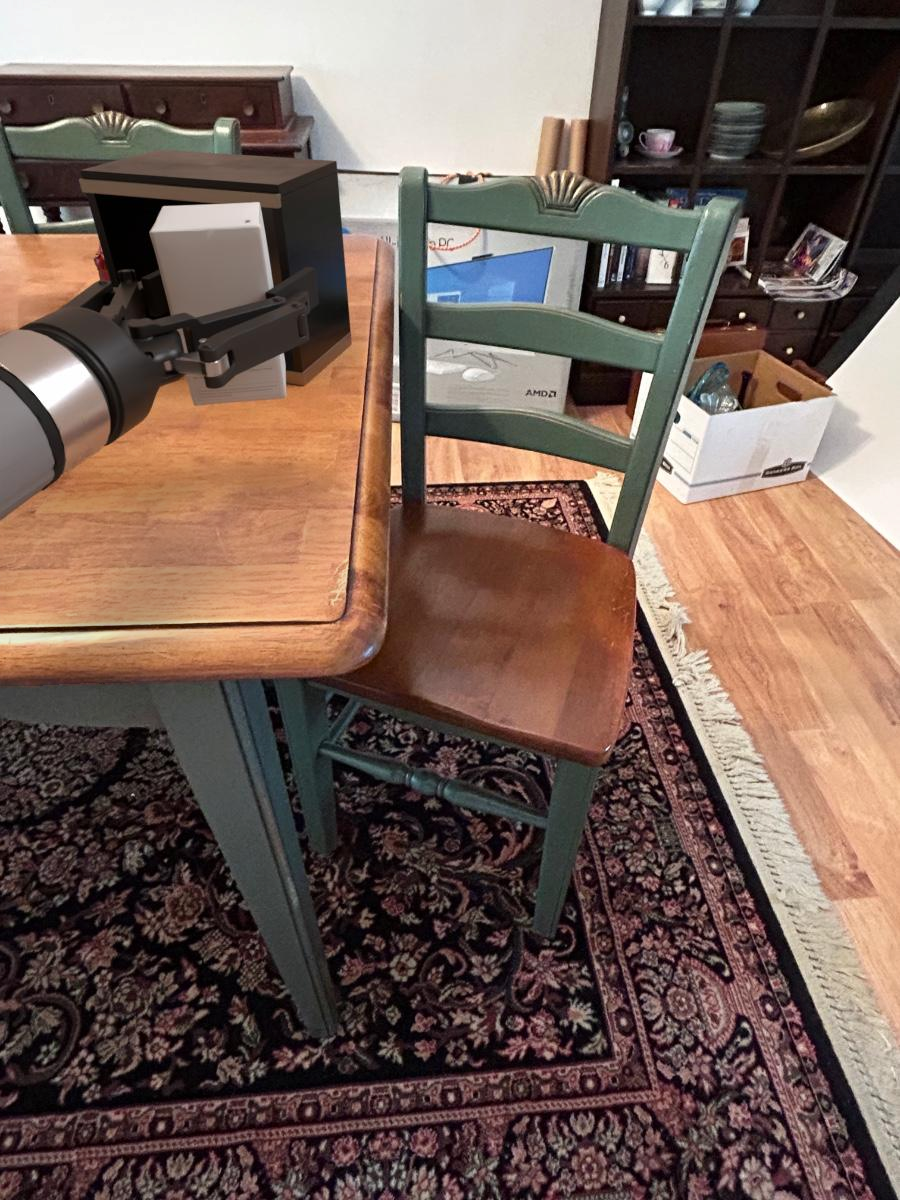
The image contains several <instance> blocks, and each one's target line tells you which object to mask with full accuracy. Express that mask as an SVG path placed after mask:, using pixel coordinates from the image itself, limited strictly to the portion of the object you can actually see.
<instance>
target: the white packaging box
mask: <svg viewBox="0 0 900 1200" xmlns="http://www.w3.org/2000/svg"><path fill="white" fill-rule="evenodd" d="M149 233H150V237H151V240H152V243H153V247H154V250H155V254H156V257H157V261H158V265H159V269H160V273H161V277H162V281H163V285H164V289H165V293H166V297H167V301H168V305H169V309H170V314H171V316H172V315H176V314H180V313H188V314H190V315H192V316H194V317H200V316H204V315H208V314H212V313H215V312H219V311H223V310H227V309H231V308H235V307H239V306H242V305H246V304H250V303H254V302H258V301H262V300H265V299H266V296H265V292H267V291H269V290H270V289H272V288H273V280H272V273H271V267H270V260H269V253H268V247H267V241H266V235H265V229H264V223H263V217H262V211H261V206H260V203H259V202H251V203H231V204H208V205H184V206H163V207H162V209H161V211H160V213H159V215H158V217H157V220H156V222H155V224H154V225H153V227H152V229H151V231H150V232H149ZM177 331H178V332H179V333H180V335H181V340H182V344H183V348H184V353H188V351H187V347H186V342H185V338H184V334H183V329H178V330H177ZM185 377H186V381H187V384H188V388H189V392H190V397H191V400H192V403H193V406H194V407H197V406H200V407H201V406H208V405H209V406H210V405H219V404H233V403H245V402H257V401H258V402H259V401H270V400H283V399H287V383H286V366H285V358H284V353H282V354H280V355H278V356H276V357H274V358H272V359H270V360H267V361H265V362H263V363H261V364H259V365H257V366H255V367H253V368H250V369H248V370H246V371H244V372H242V373H240V374H238V375H236V376H235V377H234V378H232V379H231V380H230V381H229V382H228V383H227V384H226V385H225V386H223V387H221V388H217V389H210V388H207V387H206V385H205V380H204V376H203V375H193V374H185Z"/></svg>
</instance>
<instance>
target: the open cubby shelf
mask: <svg viewBox="0 0 900 1200" xmlns="http://www.w3.org/2000/svg"><path fill="white" fill-rule="evenodd" d="M79 173H80V177H81V178H79V179H78V182H79V186H80V189H81V192H82V193H84V194H86V198H87V201H88V205H89V206H88V207H89V209H90V212H91V217H92V219H93V223H94V227H95V231H96V233H97V239H98V241H99V243H100V245H101V248H102V252H103V256H104V259H105V263H106V266H107V270H108V273H109V277H110V281H111V283H112V286H113V287H119V285H120V280H119V276H118V271H120V270H126V269H132V270H135V274H136V278H137V282H140V281H141V278H142V277H144V276H147V275H149V274H151V273H153V272H155V271H157V270H159V265H158V261H157V257H156V254H155V250H154V247H153V243H152V240H151V237H150V233H149V232H150V231H151V229H152V227H153V225H154V224H155V222H156V220H157V217H158V215H159V213H160V211H161V209H162V207H163V206H184V205H208V204H231V203H251V202H259V203H260V206H261V211H262V217H263V223H264V229H265V235H266V241H267V247H268V253H269V260H270V267H271V273H272V280H273V287H275V286H277V285H278V284H280V283H281V282H283V281H285V280H286V279H288V278H289V277H291V276H293V275H294V274H296V273H297V272H299V271H301V270H302V269H304V268H305V267H311V268H315V271H316V280H317V290H318V299H319V304H318V305H317V306H316V307H314V308H313V309H311V310H310V313H309V314H307V324H308V332H309V341H308V342H306V343H304V344H302V345H300V346H297V347H295V348H293V349H291V350H289V351H287V352H285V353H284V358H285V366H286V385H288V384H289V385H293V386H302V387H305V386H306V385H307V384H308V383H309V382H310V381H311V380H313V379H314V378H315V377H316V376H317V375H319V373H321V372H322V371H323V370H324V369H326V367H327V366H329V365H330V364H331V363H332V362H333V361H334V360H336V359H337V358H338V357H339V356H340V355H341V354H343V352H345V351H346V350H347V349H348V348H349V347H350V346H352V344H353V343H352V341H353V340H352V332H351V322H350V320H351V318H350V308H349V305H350V304H349V296H348V282H347V271H346V270H347V269H346V260H345V247H344V245H345V244H344V236H343V235H344V234H343V223H342V221H343V220H342V211H341V199H340V197H341V196H340V187H339V186H340V185H339V176H338V175H339V174H338V163H337V160H328V159H313V158H312V159H311V158H295V157H282V156H281V157H279V156H264V155H250V154H249V155H248V154H234V153H233V154H232V153H217V152H203V151H187V150H173V149H172V150H171V149H155V150H151V151H147V152H143V153H140V154H136V155H132V156H128V157H124V158H120V159H116V160H113V161H109V162H105V163H102V164H98V165H96V166H95V165H94V166H91V167H87V168H83V169H80V170H79ZM145 313H146V317H145V318H149V319H151V320H156V319H160V318H164V317H168V316H171V314H170V311H168V312H166V313H164V314H162V315H161V316H159V317H157V316H150V314H149V310H148V308H146V309H145Z"/></svg>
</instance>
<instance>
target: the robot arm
mask: <svg viewBox="0 0 900 1200" xmlns="http://www.w3.org/2000/svg"><path fill="white" fill-rule="evenodd" d="M118 276H119V280H120V285H119V287H113V286H112V283H111V281H107V280H100V279H99V280H97V281H95V282H94V283H92V284H91V285H89V286H88V287H87V288H85V289H84V290H82V291H81V292H80V293H78V294H77V295H76V296H74V297H73V298H72V299H70V300H69V301H67V302H66V303H65V304H64V305H62V306H61V307H59V308H58V309H57V310H55V311H52V312H51V313H48V314H46V315H44V316H42V317H40V318H38V319H35V320H33V321H31V322H29V323H27V324H24V325H23V326H21V327H19V328H18V329H14V330H10V331H6V332H5V333H2V334H0V522H1V521H3V520H4V519H5V518H6V517H8V516H9V515H10V514H11V513H13V512H14V511H15V510H16V509H18V508H19V507H21V506H22V505H24V504H25V503H26V502H28V501H29V500H30V499H32V498H33V497H35V496H36V495H37V494H39V493H40V492H43V491H46V489H48V488H49V487H50V486H52V485H54V484H55V483H57V482H58V480H59V479H61V478H62V477H64V476H65V475H67V474H68V473H69V472H71V471H72V470H74V469H75V468H77V467H78V466H80V465H81V464H82V463H84V462H86V461H87V460H88V459H90V458H92V457H93V456H95V455H96V454H97V453H99V452H100V451H101V450H102V449H103V448H104V447H107V446H109V445H111V444H113V443H114V442H116V441H117V440H118V439H120V438H121V437H122V436H124V435H126V434H127V433H129V432H130V431H131V430H132V429H134V428H136V427H137V426H138V425H139V424H141V423H142V422H144V421H145V419H147V417H148V416H149V414H150V413H151V410H152V408H153V405H154V403H155V399H156V396H157V394H158V392H159V390H160V388H161V387H165V386H166V385H169V384H172V383H175V382H178V381H180V380H182V379H183V378H184V377H186V374H193V375H203V376H204V380H205V385H206V387H207V388H210V389H217V388H221V387H223V386H225V385H226V384H227V383H228V382H229V381H230V380H231V379H232V378H234V377H235V376H236V375H238V374H240V373H242V372H244V371H246V370H248V369H250V368H253V367H255V366H257V365H259V364H261V363H263V362H265V361H267V360H270V359H272V358H274V357H276V356H278V355H280V354H282V353H285V352H287V351H289V350H291V349H293V348H295V347H297V346H300V345H302V344H304V343H306V342H308V341H309V332H308V324H307V314H309V313H310V310H311V309H313V308H314V307H316V306H317V305H318V304H319V299H318V290H317V280H316V271H315V268H311V267H305V268H304V269H302V270H301V271H299V272H297V273H296V274H294V275H293V276H291V277H289V278H288V279H286V280H285V281H283V282H281V283H280V284H278V285H277V286H275V287H273V288H272V289H270V290H269V291H267V292H265V296H266V299H265V300H262V301H258V302H254V303H250V304H246V305H242V306H239V307H235V308H231V309H227V310H223V311H219V312H215V313H212V314H208V315H204V316H200V317H194V316H192V315H190V314H188V313H180V314H176V315H172V316H168V317H164V318H160V319H156V320H151V319H149V318H145V317H146V313H145V309H146V308H148V310H149V314H150V316H157V317H159V316H161V315H162V314H164V313H166V312H168V311H170V309H169V305H168V301H167V297H166V293H165V289H164V285H163V281H162V277H161V273H160V269H159V270H157V271H155V272H153V273H151V274H149V275H147V276H144V277H142V278H141V281H140V282H137V278H136V274H135V270H132V269H126V270H120V271H118ZM178 329H183V334H184V338H185V342H186V347H187V351H188V353H184V348H183V344H182V340H181V335H180V333H179V332H178V331H177V330H178Z"/></svg>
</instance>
